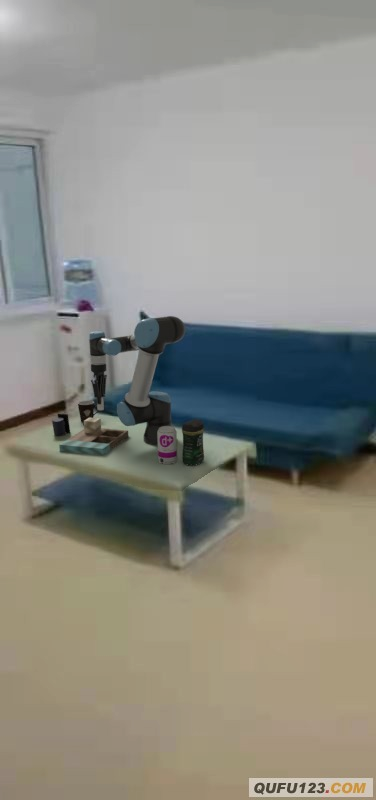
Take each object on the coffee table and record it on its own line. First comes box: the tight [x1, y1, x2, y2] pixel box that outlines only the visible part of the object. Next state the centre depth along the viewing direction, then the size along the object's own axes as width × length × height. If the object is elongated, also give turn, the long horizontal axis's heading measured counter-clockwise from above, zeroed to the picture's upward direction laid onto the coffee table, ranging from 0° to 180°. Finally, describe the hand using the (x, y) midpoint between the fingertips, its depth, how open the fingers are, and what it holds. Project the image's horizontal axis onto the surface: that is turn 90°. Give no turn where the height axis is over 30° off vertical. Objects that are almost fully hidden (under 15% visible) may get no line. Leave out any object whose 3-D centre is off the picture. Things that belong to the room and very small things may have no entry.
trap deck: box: [58, 427, 129, 456], centre depth 295 cm, size 22×28×3 cm
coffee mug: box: [77, 400, 101, 423], centre depth 330 cm, size 12×9×10 cm
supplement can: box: [157, 425, 178, 465], centre depth 268 cm, size 8×8×15 cm
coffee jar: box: [181, 418, 205, 466], centre depth 266 cm, size 10×8×19 cm
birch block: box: [83, 417, 102, 434], centre depth 303 cm, size 6×6×6 cm
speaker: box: [51, 412, 71, 437], centre depth 309 cm, size 8×6×10 cm
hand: (100, 409), depth 311 cm, fingers closed
